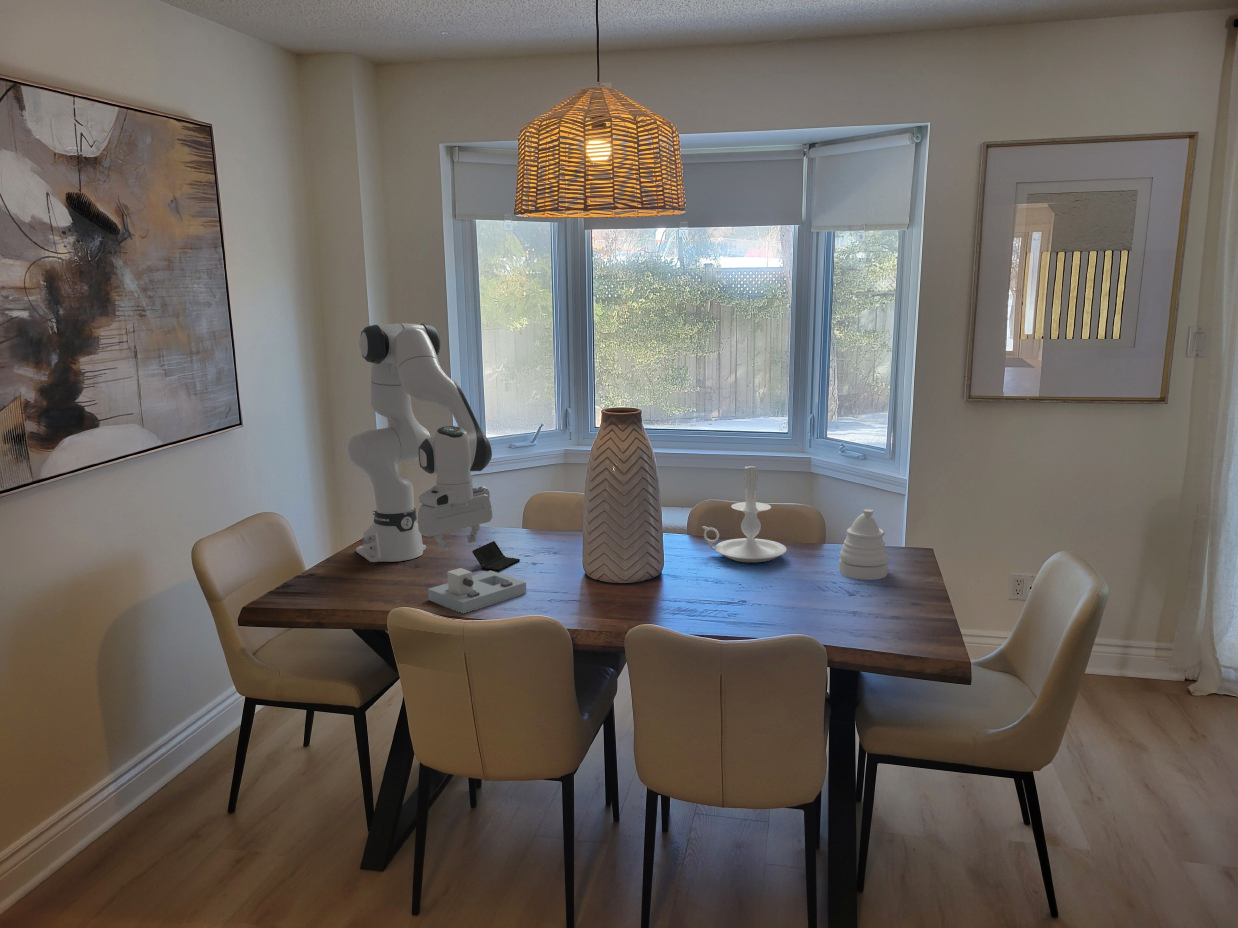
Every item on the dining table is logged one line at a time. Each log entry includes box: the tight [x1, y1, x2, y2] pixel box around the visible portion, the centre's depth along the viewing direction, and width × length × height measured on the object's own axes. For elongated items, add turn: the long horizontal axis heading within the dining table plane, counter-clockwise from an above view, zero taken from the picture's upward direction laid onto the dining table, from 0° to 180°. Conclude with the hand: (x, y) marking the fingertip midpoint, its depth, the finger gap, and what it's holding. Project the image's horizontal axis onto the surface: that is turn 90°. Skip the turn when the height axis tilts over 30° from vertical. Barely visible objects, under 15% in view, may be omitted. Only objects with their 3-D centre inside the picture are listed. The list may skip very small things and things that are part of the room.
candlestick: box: [701, 463, 787, 564], centre depth 248 cm, size 21×25×28 cm
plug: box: [446, 567, 474, 596], centre depth 217 cm, size 7×4×8 cm, turn 46°
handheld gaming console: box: [471, 540, 521, 573], centre depth 248 cm, size 12×7×10 cm
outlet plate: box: [427, 570, 527, 615], centre depth 222 cm, size 15×20×4 cm
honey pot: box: [838, 508, 889, 581], centre depth 234 cm, size 13×13×18 cm
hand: (457, 545), depth 216 cm, fingers open, 7 cm apart
